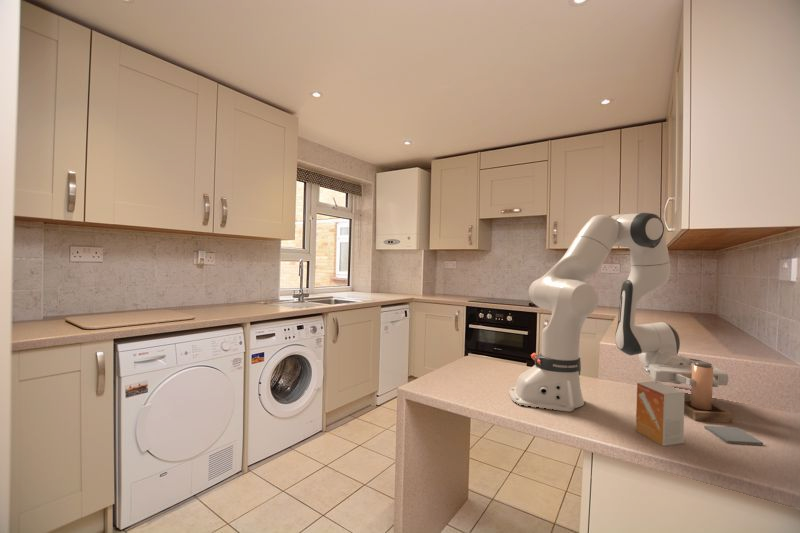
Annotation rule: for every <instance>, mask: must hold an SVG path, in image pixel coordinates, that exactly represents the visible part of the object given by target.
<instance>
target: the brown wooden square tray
mask: <svg viewBox="0 0 800 533" xmlns="http://www.w3.org/2000/svg"><path fill="white" fill-rule="evenodd" d="M690 403H691V399H684V415H686V416H688V417H690V419H692V420H694V421H695V422H713V423H715V422H717V423H732V417H733V414H732V413H731V412H729V411H728V410H726V409H724V408H722V407H720V406H718V405H717V404H714V403H713V402H712V409H711V410H703V409H698V408H695V407H693V406H691V404H690Z"/></svg>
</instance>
